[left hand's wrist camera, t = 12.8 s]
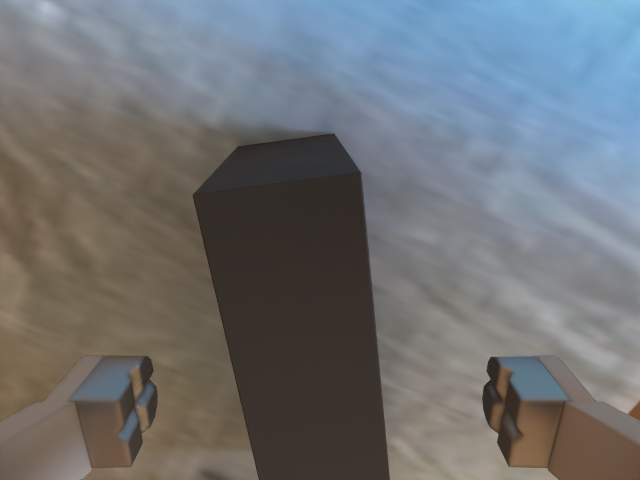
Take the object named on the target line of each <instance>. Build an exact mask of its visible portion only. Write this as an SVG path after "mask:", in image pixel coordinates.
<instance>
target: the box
mask: <svg viewBox="0 0 640 480" xmlns="http://www.w3.org/2000/svg"><path fill="white" fill-rule="evenodd" d="M193 199H194V203H195V207H196V211H197V216H198V220H199V224H200V229H201V233H202V237H203V241H204V246H205V250H206V254H207V259H208V263H209V267H210V272H211V276H212V280H213V284H214V289H215V293H216V297H217V302H218V306H219V310H220V314H221V319H222V323H223V327H224V332H225V336H226V340H227V345H228V349H229V353H230V357H231V362H232V366H233V370H234V375H235V379H236V383H237V388H238V392H239V396H240V400H241V405H242V409H243V413H244V418H245V422H246V426H247V430H248V435H249V439H250V443H251V448H252V452H253V456H254V461H255V465H256V469H257V473H258V478H259V480H390V476H389V465H388V454H387V444H386V433H385V422H384V411H383V400H382V390H381V379H380V368H379V357H378V346H377V336H376V325H375V314H374V303H373V293H372V282H371V271H370V260H369V249H368V239H367V228H366V217H365V206H364V195H363V185H362V174H361V172H360V170H359V169H358V167H357V166H356V164H355V163H354V162H353V160H352V159H351V157H350V156H349V154H348V153H347V152H346V150H345V149H344V147H343V146H342V144H341V143H340V141H339V140H338V139H337V137H336V136H335V134H329V135H321V136H314V137H306V138H299V139H291V140H284V141H276V142H269V143H261V144H254V145H246V146H239V147H237V148H236V149H235V150H234V151H233V152H232V153H231V154H230V156H229V157H228V158H227V159H226V160H225V161H224V162H223V163H222V164H221V165H220V166H219V167H218V168H217V169H216V171H215V172H214V173H213V174H212V175H211V176H210V177H209V178H208V179H207V180H206V181H205V182H204V183H203V185H202V186H201V187H200V188H199V189H198V190H197V191H196V192H195V193H194V194H193Z"/></svg>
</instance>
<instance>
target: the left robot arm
mask: <svg viewBox="0 0 640 480" xmlns="http://www.w3.org/2000/svg"><path fill="white" fill-rule="evenodd" d="M152 373H153V366H152V362H151V359H150V358H149V357H148V356H108V355H107V356H104V355H86V356H84V357H81V358H80V359H79V360H78V361H77V363H76V364H75V365H74V366H73V367H72V368H71V370H70V371H69V372H68V373H67V374H66V376H65V377H64V378H63V379H62V380H61V381H60V383H59V384H58V385H57V386H56V387H55V389H54V390H53V391H52V392H51V393H50V394H49V396H48V397H47V398H46V399H45V400H44V402H35V403H33V404H31V405H30V406H28V407H26V408H24V409H22V410H20V411H18V412H16V413H14V414H13V415H11V416H9V417H7V418H5V419H3V420H1V421H0V480H81V479H83V478H84V477H85V476H86V475H87V474H88V473H89V472H91V471H92V468H113V467H131V466H132V464H133V462H134V460H135V458H136V456H137V454H138V452H139V449H140V447H141V445H142V443H143V441H142V435H141V434H142V433H143V432H144V431H146V430H147V429H148V428H150V426H151V424H152V422H153V420H154V418H155V413H156V408H157V389H156V386H155V385H154V384H153V383H152V382H151V381H150V380H149V378H150V377H151V375H152ZM487 373H488V375H489V377H490V378H491V380H490V381H489V382H488V383H487V384H486V385H485V386H484V390H483V397H482V399H483V410H484V414H485V417H486V420H487V422H488V424H489V426H490V428H492V429H493V430H494V431H496V432H497V433H498V434H499V435H498V441H497V443H498V445H499V447H500V449H501V452H502V454H503V456H504V458H505V460H506V462H507V464H508V466H509V467H526V468H548V471H550V472H551V473H552V474H553V475H554V476H555V477H557V478H558V479H559V480H640V421H639V420H637V419H635V418H633V417H631V416H629V415H627V414H626V413H624V412H622V411H620V410H618V409H616V408H614V407H612V406H610V405H609V404H607V403H605V402H596V400H595V399H594V398H593V397H592V396H591V395H590V393H589V392H588V391H587V390H586V389H585V387H584V386H583V385H582V384H581V383H580V381H579V380H578V379H577V378H576V377H575V376H574V374H573V373H572V372H571V371H570V370H569V368H568V367H567V366H566V365H565V364H564V363H563V361H562V360H561V359H560V358H559V357H557V356H555V355H543V356H527V357H491V358H490V360H489V361H488V366H487Z"/></svg>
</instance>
